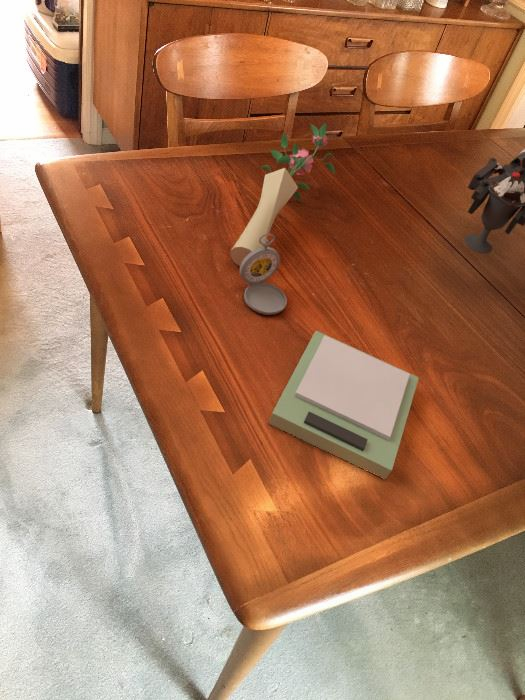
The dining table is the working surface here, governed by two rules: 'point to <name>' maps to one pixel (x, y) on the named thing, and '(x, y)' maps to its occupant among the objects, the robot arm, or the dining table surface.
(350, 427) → the scale
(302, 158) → the flower vase
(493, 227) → the sundae
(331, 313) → the dining table surface
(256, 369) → the dining table surface
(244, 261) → the pocket watch
